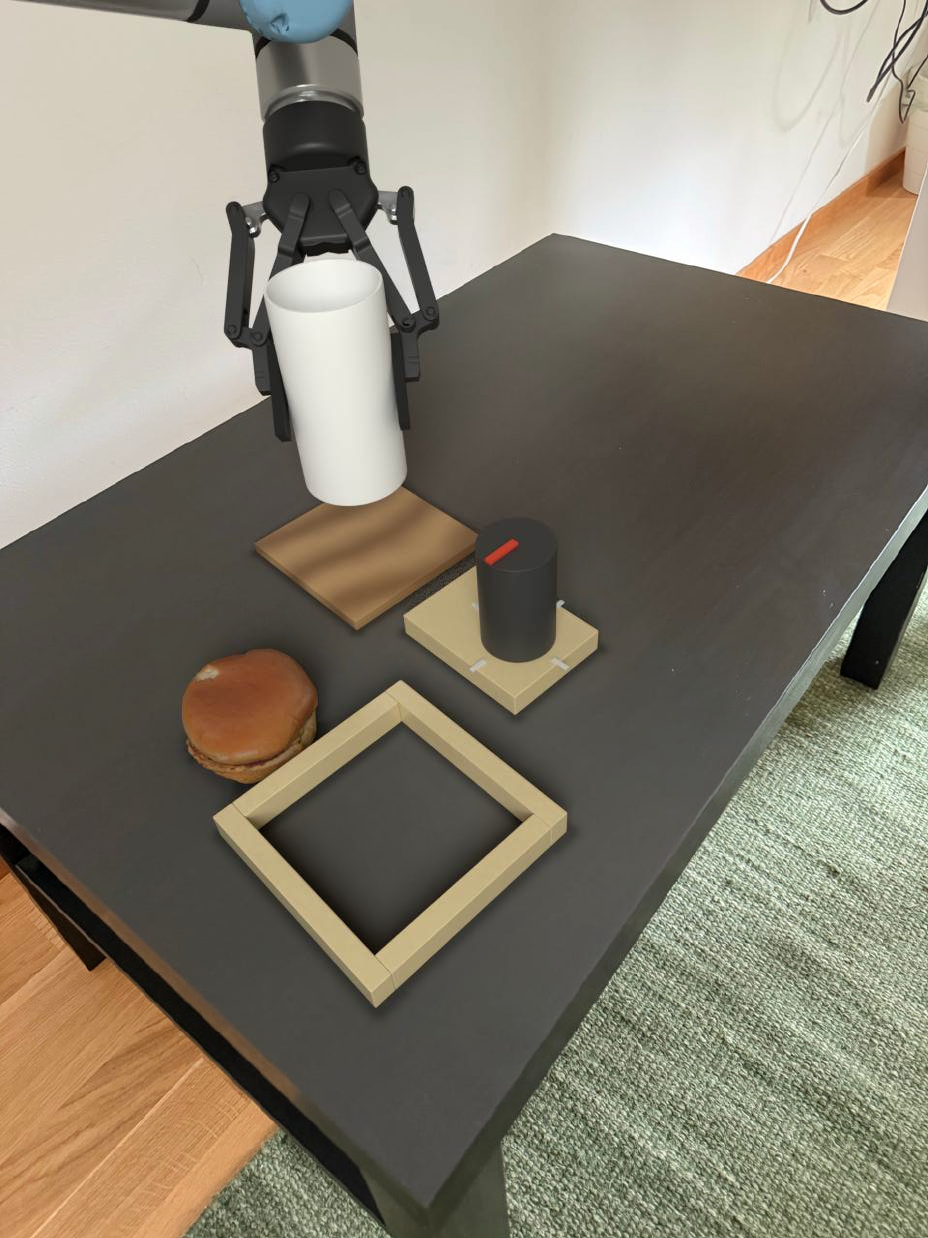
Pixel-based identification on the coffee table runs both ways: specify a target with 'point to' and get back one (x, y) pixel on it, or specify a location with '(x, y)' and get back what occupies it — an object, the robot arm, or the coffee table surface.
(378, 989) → the square frame
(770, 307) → the coffee table surface
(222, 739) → the burger
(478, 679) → the panel
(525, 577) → the burner knob
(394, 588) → the trivet
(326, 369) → the cup
